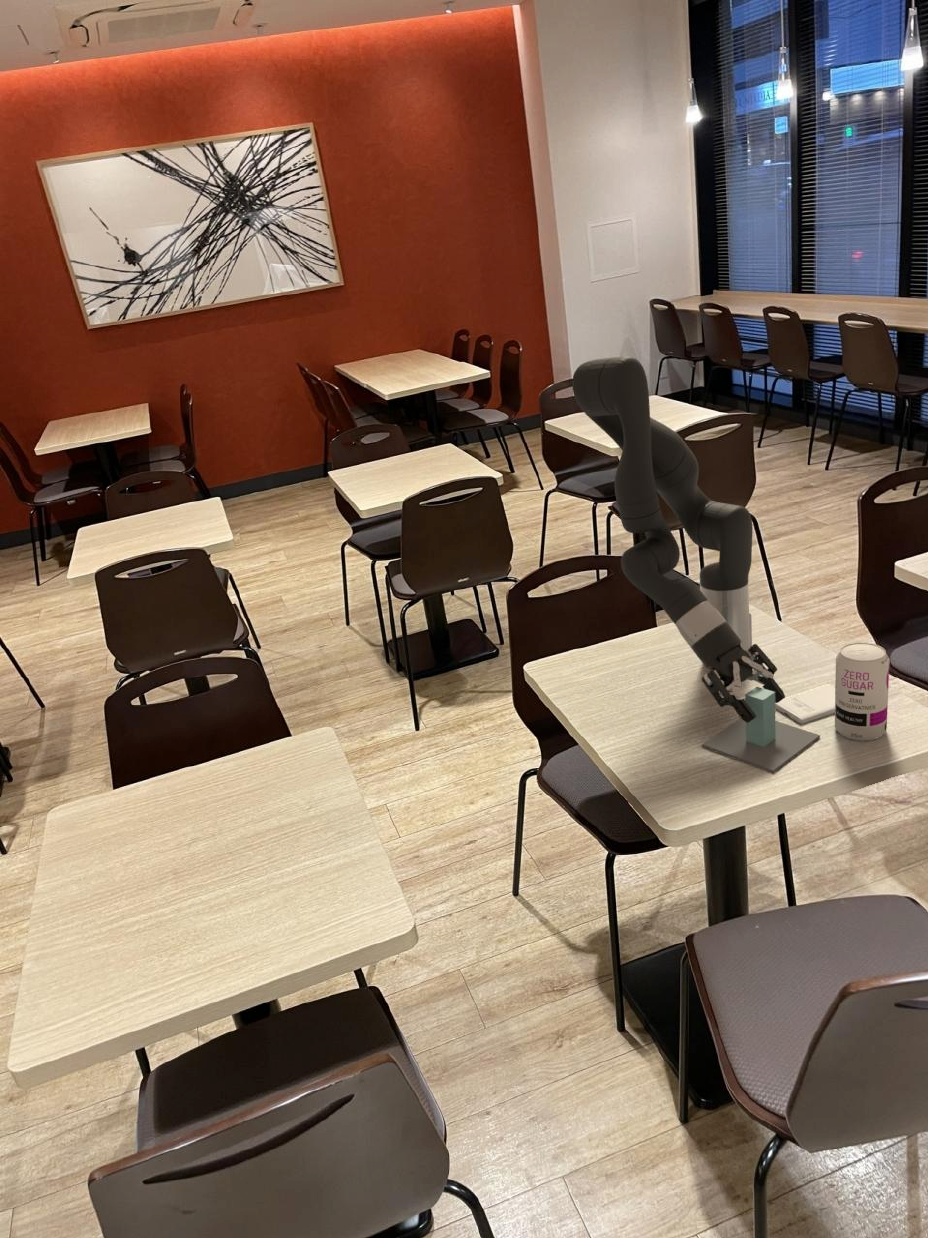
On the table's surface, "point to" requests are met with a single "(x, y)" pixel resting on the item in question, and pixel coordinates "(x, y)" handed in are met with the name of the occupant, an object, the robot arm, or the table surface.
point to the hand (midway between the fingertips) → (766, 710)
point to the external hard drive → (809, 704)
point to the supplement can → (861, 691)
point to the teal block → (761, 716)
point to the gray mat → (767, 757)
